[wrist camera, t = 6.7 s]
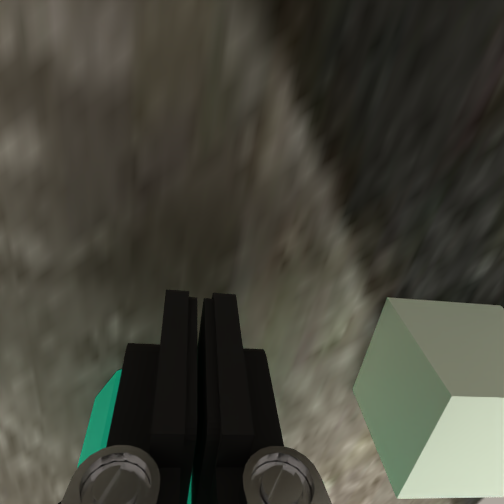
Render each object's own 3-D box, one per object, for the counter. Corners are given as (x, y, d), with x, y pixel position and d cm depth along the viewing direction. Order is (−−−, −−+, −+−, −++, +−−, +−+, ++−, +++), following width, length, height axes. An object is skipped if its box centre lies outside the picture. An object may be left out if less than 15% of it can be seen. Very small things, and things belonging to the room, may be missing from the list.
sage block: (386, 296, 15) (452, 396, 11) (499, 304, 16) (596, 400, 12) (351, 388, 17) (396, 498, 13) (452, 391, 18) (522, 496, 14)
